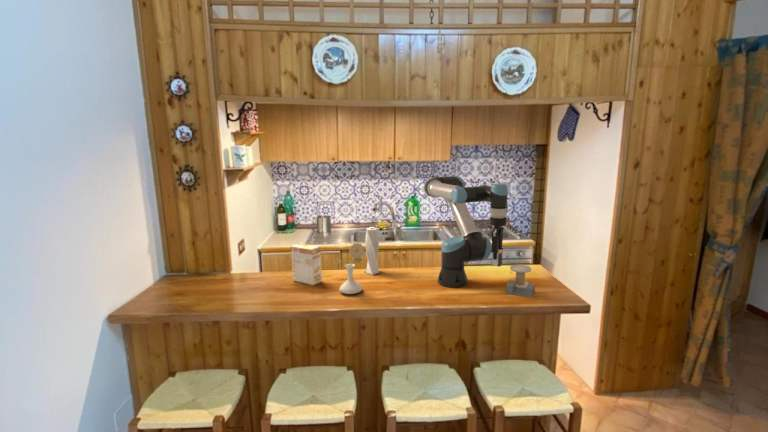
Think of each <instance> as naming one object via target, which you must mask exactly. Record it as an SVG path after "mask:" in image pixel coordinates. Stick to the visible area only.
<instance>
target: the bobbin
mask: <svg viewBox="0 0 768 432" xmlns="http://www.w3.org/2000/svg"><path fill="white" fill-rule="evenodd" d="M509 268H510V270H511V271H512V272H515V279H514V280H513V281H516V288H519V289H525V290H526V287H527V285H528V283H529V282H528V281H526V274H528V273H531V272H532V267H531V266H529V265H525V264H512V265H510V266H509Z"/></svg>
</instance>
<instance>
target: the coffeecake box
mask: <svg viewBox="0 0 768 432" xmlns="http://www.w3.org/2000/svg"><path fill="white" fill-rule="evenodd" d="M290 250H291V253H290V254H291V255H290V256H291V266H292V267H291V268H292V269H291V270H292V280H293V282H298V283H303V284H305V285H309V286H310V285H311V286H316V285H317V284H320V283H322V282H323V278H322V277H323V275H322V274H323V273H322V259H321V258H322V257H321V253H322V252H321V246H318V245H312V244H308V243H307V244H306V243H300V242H299V243H296V244H293V245H290Z"/></svg>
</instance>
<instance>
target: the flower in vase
mask: <svg viewBox="0 0 768 432" xmlns="http://www.w3.org/2000/svg"><path fill="white" fill-rule="evenodd" d="M349 254H350V256H351V257H352V258H353V259H352V261H351V260H348V259H347V258H346V259H344V260H345V261H346V262H349V263H346V264H345V265H344V267H345V268H346V269H347V279H346V281H344V282H343V283H342V284H341V285H340V287H339V289H338V290H339V292H340V293H343V294H347V295H353V294H355V295H356V294H358V293H360V292H361V291H362V290H363V286H362V285H361V284H360V283H359V282H358V281H356V280H354V277H353V275H354V274H353V272H354V268H355V266H356V264H355V263H354V261H355V262H357V263H360V262H362V261H363V259H362V257H364V256H365V254H366V248H364V246H363V244H362V243H359V242H354V243H353V244H352V245H350V246H349Z"/></svg>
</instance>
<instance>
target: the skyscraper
mask: <svg viewBox="0 0 768 432" xmlns="http://www.w3.org/2000/svg"><path fill="white" fill-rule="evenodd" d="M378 233H379V232H378V227H377V224H376V225H375V226H369V227H366V231H365V242H364V243H365V244H364V245H365V254H366V258H367V264H366V268H365V269H366V271H364V272H363V273H364V274H367V275H370V276H374V275H378V274H380V273H382V271H381V270H379V264H378V255H379V249H380V246H379V245H380V242H379V240H380V239H379V234H378Z"/></svg>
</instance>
